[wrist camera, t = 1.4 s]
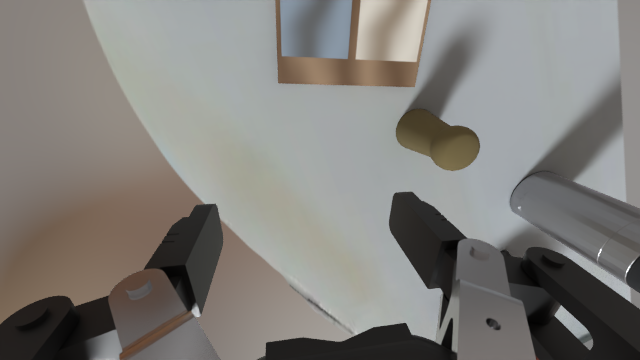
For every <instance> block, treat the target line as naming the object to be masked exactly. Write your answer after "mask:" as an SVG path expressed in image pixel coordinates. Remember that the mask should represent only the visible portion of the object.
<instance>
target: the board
mask: <svg viewBox="0 0 640 360" xmlns="http://www.w3.org/2000/svg"><path fill="white" fill-rule="evenodd" d="M275 1H276V30H277V59H278V83H289V84H324V85H360V86H396V87H415V83H416V77H417V72H418V67H419V62H420V56H421V51H422V46H423V40H424V35H425V30H426V24H427V19H428V14H429V9H430V3H431V0H275Z"/></svg>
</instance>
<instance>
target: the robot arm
mask: <svg viewBox="0 0 640 360" xmlns="http://www.w3.org/2000/svg"><path fill="white" fill-rule="evenodd" d="M510 206H511V209H512V211H513V212H514V213H516V214H517V215H519V216H520V217H522V218H524V219H525V220H527V221H528V222H530V223H531V224H533V225H534V226H536V227H537V228H539V229H540V230H542V231H544V232H545V233H547V234H548V235H550V236H551V237H553V238H555V239H556V240H558V241H559V242H561V243H562V244H564V245H566V246H567V247H569V248H570V249H572V250H573V251H575V252H576V253H578V254H580V255H581V256H583V257H584V258H586V259H587V260H589V261H591V262H592V263H594V264H595V265H597V266H598V267H600V268H601V269H603V270H605V271H606V272H608V273H609V274H611V275H613V276H614V277H616V278H617V279H619V280H620V281H622V282H623V283H625V284H627V285H628V286H630V287H631V288H633V289H634V290H636V291H637V292H639V293H640V209H639V208H637V207H635V206H632V205H630V204H627V203H625V202H622V201H620V200H617V199H615V198H612V197H610V196H608V195H605V194H603V193H600V192H598V191H595V190H593V189H590V188H588V187H585V186H583V185H581V184H578V183H576V182H573V181H571V180H569V179H566V178H564V177H561V176H559V175H556V174H554V173H551V172H547V171H542V172H538V173H535V174H533V175H531V176H529V177H527V178H526V179H525V180H523V181H522V182H521V183H520V184H519V185H518V186H517V188H516V189H515V190H514V192H513V194H512V197H511V201H510ZM389 227H390V231H391V233H392V235H393V236H394V238H395V239H396V241H397V242H398V244H399V245H400V247H401V248H402V250H403V251H404V253H405V255H406V256H407V258H408V259H409V261H410V262H411V264H412V265H413V267H414V268H415V270H416V271H417V273H418V274H419V276H420V277H421V279H422V280H423V282H424V284H425V285H426V287H427V288H428V289H433V288H441V290H442V291H443V292H442V295H441V299H440V308H439V316H438V324H437V333H436V340H435V342H434V341H432V340H429V339H426V338H424V337H420V336H416V335H411V332H410V330H409V328H408V326H407V324H406V323H401V324H394V325H387V326H380V327H373V328H371V329H369V330H367V331H365V332H362V333H360V334H358V335H356V336H354V337H351V338H349V339H347V340H345V341H342V342H335V341H326V340H319V339H311V338H296V339H288V340H282V341H274V342H267V343H266V356H264V357H261V358H259V359H258V360H536V357H535V355H536V356H537V357H538V359H539V360H640V309H639V308H637V307H636V306H634V305H633V304H632V303H630V302H629V301H628V300H626V299H625V298H623V297H622V296H621V295H619V294H618V293H616V292H615V291H614V290H612V289H611V288H609V287H608V286H607V285H605V284H604V283H603V282H601V281H600V280H598V279H597V278H596V277H594V276H593V275H591V274H590V273H589V272H587V271H586V270H584V269H583V268H582V267H580V266H579V265H577V264H576V263H575V262H573V261H572V260H570V259H569V258H567V257H566V256H564V255H562V254H560V253H558V252H555V251H552V250H550V249H546V248H541V247H531V248H529V249H527V251H526V253H525V255H524V257H523V258H518V257H511V256H503V255H502V254H501V252H500V251H499V250H498V249H496V248H495V247H494V246H492V245H490V244H488V243H486V242H484V241H481V240H477V239H468V238H466V237H465V236H464V235H463V234H462V233H461V232H460V231H459V230H458V229H457V228H456V227H455V226H454V225H453V224H452V223H450V222H449V221H447V219H446V218H445V217H444V216H443V215H441V213H440V212H439V211H438V210H437V209H435V208H434V207H433V206H431V205H429V204H428V203H426V202H424V201H421V200H420V199H419V198H418V197H417V196H416V195H415V194H414V193H413V192H399V193H395V194H394V196H393V200H392V206H391V213H390V219H389ZM222 246H223V233H222V228H221V223H220V218H219V213H218V208H217V205H216V204H203V205H196V206H195V207H194V209H193V211H192V212H191V214H190V216H189V217H184V218H182V219H180V220H179V221H178V222H176V223H175V224H174V225H172V227H171V228H170V230H169V231H168V233H167V236H165V238H164V240H163V241H162V244H160V246H159V247H158V248H157V250H156V251H155V253H154V254H153V256H152V258H151V259H150V260H149V262H148V263H147V265H146V266H145V268H144V270H142V271H138V272H136V273H133V274H131V275H129V276H128V277H126V278H124V279H123V280H122V281H121V282H119V283H118V284H117V285H116V286H115V287H114V288H113V289H112V291H111V292H110V295H109V296H106V297H103V298H100V299H97V300H93V301H91V302H87V303H84V304H81V305H78V306H74V304H73V303H72V301H71V300H70V298H68V297H66V296H53V297H48V298H45V299H42V300H39V301H36V302H34V303H32V304H30V305H27V306H26V307H24V308H22V309H20V310H19V311H17V312H15V313H14V314H12V315H11V316H10V317H8V318H7V319H6V320H5V321H3V322H2V323H1V324H0V360H220V358H219V356H218V355H217V353H216V351H215V349H214V348H213V346H212V344H211V343H210V341H209V340H208V338H207V337H206V335H205V333H204V331H203V329H202V328H201V326H200V324H199V323H198V321H197V319H196V318H195V317H198V316H201V314H202V311H203V307H204V304H205V301H206V298H207V295H208V291H209V288H210V285H211V282H212V278H213V275H214V272H215V269H216V266H217V262H218V259H219V256H220V253H221V250H222ZM561 305H562V306H563V307H564V308H565V309H566V310H567V311H568V312H569V313H570V314H572V315H573V316H574V317H575V318H576V319H577V320H578V321H579V322H580V323H581V324H583V325H584V326H585V327H586V328H587V330H588V331H589V332H590V334H591V336H592V338H593V347H592V349H591V350H589V349H587V347H586V346H584V345H583V344H582V343H581V342H580V341H579V340H578V339H577V338H576V337H575V336H574V335H573V334H572V333H571V332H570V331H569V330H568V329H567V328H566V327H565V326H564V325H563V324H562V323H561V322H560V321H559V320H558V319H557V318H556V317H555V316H554V315H555V313H556V312H557V310H558V309H559V307H560V306H561Z"/></svg>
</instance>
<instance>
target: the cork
mask: <svg viewBox="0 0 640 360" xmlns="http://www.w3.org/2000/svg"><path fill="white" fill-rule="evenodd" d="M396 137H397V140H398V142H399V143H400V144H401V145H402V146H403V147H405V148H408V149H410V150H413V151H416V152H418V153H421V154H424V155H426V156H429V157H431V158H432V160H433V161H434V163H435V164H436V165H437V166H439V167H441V168H442V169H445V170H450V171H455V170H460V169H463V168H465V167H467V166H469V165H470V164H471V163H472V162H473V161H474V160H475V158H476V157H477V155H478V153H479V149H480V143H479V139H478V137H477V135H476V133H475V132H473V131H472V130H470V129H469V128H467V127H463V126H450V125H448V124H447V123H445V122H443V121H442V120H440V119H439V118H437V117H436V116H434V115H433V114H431V113H429V112H428V111H426V110H424V109H414V110H411V111H409V112H407V113H406V114H405V115H404V116H403V117H402V118H401V119H400V121H399V122H398V125H397V128H396Z"/></svg>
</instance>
